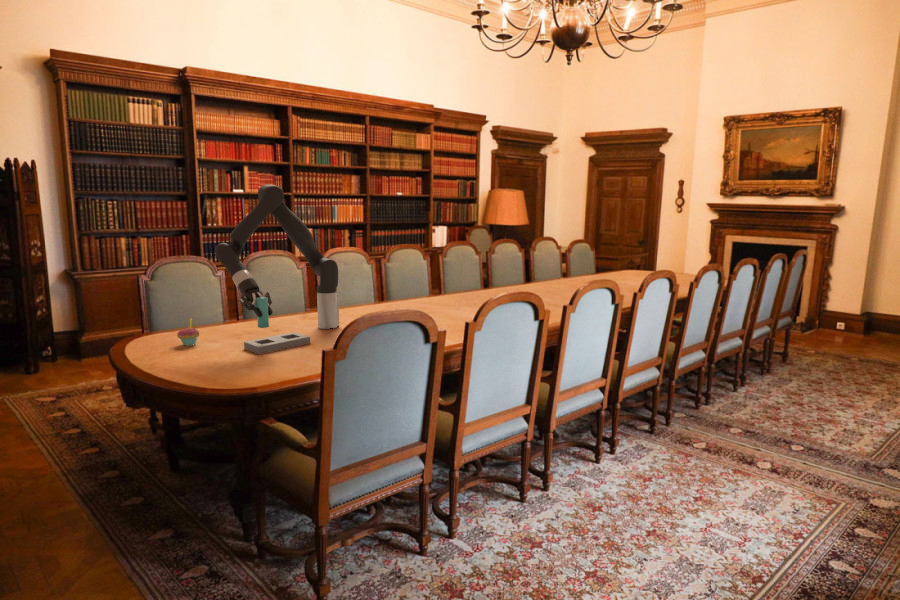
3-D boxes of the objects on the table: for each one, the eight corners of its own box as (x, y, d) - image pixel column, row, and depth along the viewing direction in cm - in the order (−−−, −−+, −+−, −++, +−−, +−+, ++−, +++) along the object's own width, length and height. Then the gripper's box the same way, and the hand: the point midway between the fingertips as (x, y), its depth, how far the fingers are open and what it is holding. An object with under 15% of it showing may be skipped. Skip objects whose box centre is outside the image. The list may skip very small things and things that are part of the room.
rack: (295, 338, 255) (294, 331, 254) (310, 343, 247) (310, 336, 246) (244, 348, 238) (243, 341, 237) (258, 354, 230) (258, 347, 229)
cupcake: (203, 342, 248) (201, 315, 245) (193, 347, 239) (191, 319, 237) (184, 341, 248) (182, 314, 246) (173, 346, 240) (171, 318, 238)
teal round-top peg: (265, 325, 239) (264, 296, 237) (271, 326, 236) (269, 298, 234) (255, 326, 236) (254, 297, 234) (261, 328, 233) (259, 299, 231)
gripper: (234, 279, 231) (255, 312, 226) (263, 275, 243) (284, 307, 238) (226, 291, 235) (247, 323, 230) (255, 286, 246) (276, 317, 242)
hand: (266, 315), depth 234 cm, fingers closed on teal round-top peg, 4 cm apart
